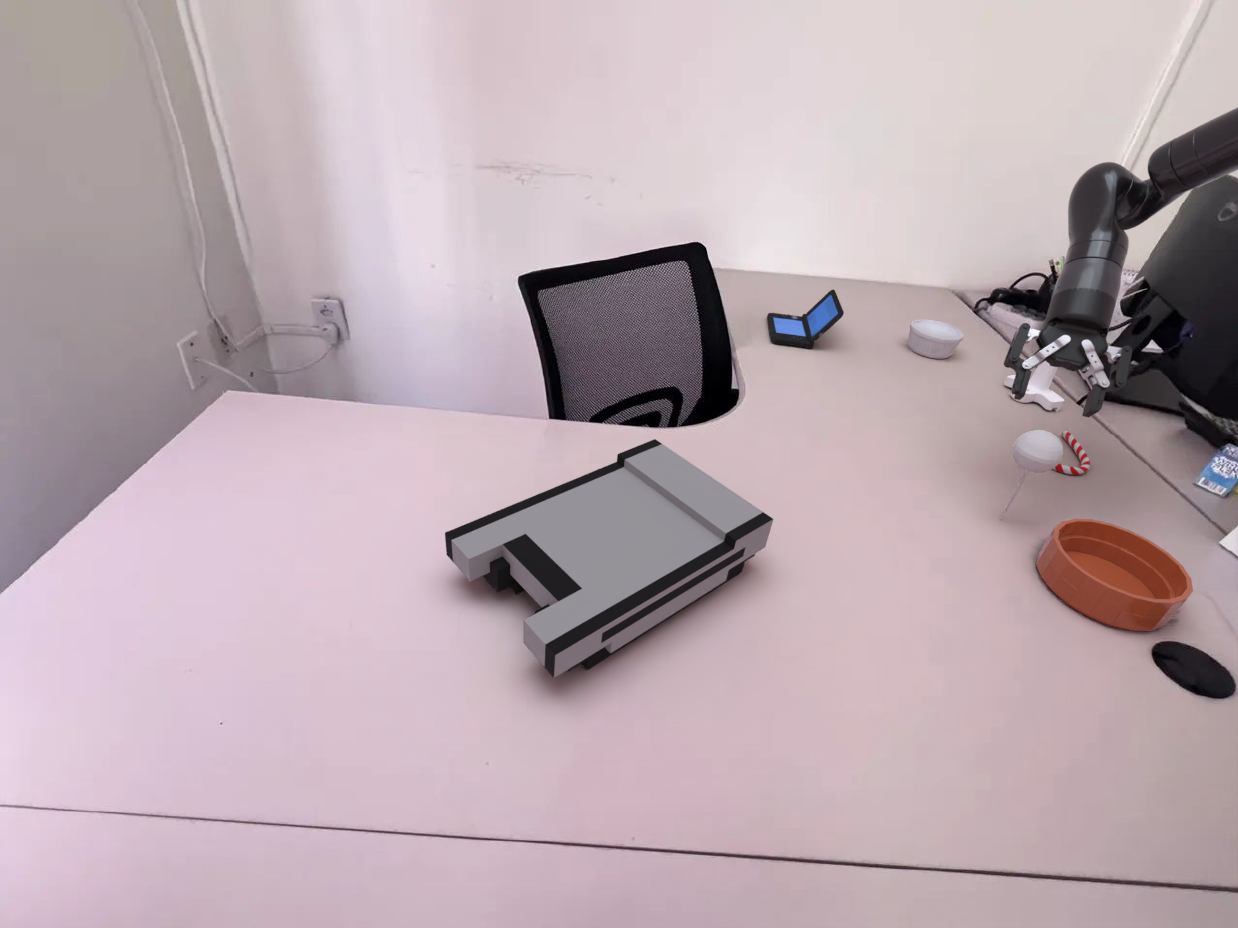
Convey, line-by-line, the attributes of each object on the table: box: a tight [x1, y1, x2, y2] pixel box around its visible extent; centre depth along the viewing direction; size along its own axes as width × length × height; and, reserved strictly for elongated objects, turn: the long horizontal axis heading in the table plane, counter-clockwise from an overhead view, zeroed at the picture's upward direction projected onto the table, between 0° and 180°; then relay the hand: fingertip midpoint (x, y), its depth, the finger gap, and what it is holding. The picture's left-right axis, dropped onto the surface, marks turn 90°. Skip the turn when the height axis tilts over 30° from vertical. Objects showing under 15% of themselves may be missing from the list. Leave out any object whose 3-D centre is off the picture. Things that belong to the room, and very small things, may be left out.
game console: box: [766, 289, 845, 349], centre depth 144 cm, size 16×14×9 cm
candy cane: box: [1052, 430, 1091, 476], centre depth 113 cm, size 8×1×15 cm
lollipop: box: [998, 429, 1064, 521], centre depth 91 cm, size 6×6×15 cm
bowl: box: [1035, 518, 1194, 632], centre depth 84 cm, size 15×15×6 cm
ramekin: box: [907, 319, 965, 360], centre depth 145 cm, size 11×11×5 cm
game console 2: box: [444, 438, 774, 679], centre depth 77 cm, size 21×32×8 cm, turn 131°
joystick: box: [1003, 361, 1065, 412], centre depth 125 cm, size 11×8×20 cm
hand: (1053, 406), depth 88 cm, fingers open, 8 cm apart
